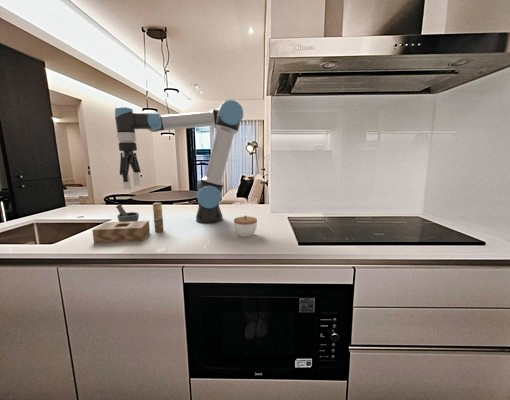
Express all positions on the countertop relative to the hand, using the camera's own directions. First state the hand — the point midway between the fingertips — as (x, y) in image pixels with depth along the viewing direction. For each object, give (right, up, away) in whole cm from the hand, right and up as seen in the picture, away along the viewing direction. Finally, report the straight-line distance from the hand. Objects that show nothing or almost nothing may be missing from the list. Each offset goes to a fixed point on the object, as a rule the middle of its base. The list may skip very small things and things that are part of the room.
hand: (132, 187), depth 123 cm
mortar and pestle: (-7, -21, +11) cm, 24 cm away
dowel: (+12, -22, +3) cm, 25 cm away
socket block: (-1, -24, -6) cm, 24 cm away
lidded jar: (+55, -23, -4) cm, 60 cm away
